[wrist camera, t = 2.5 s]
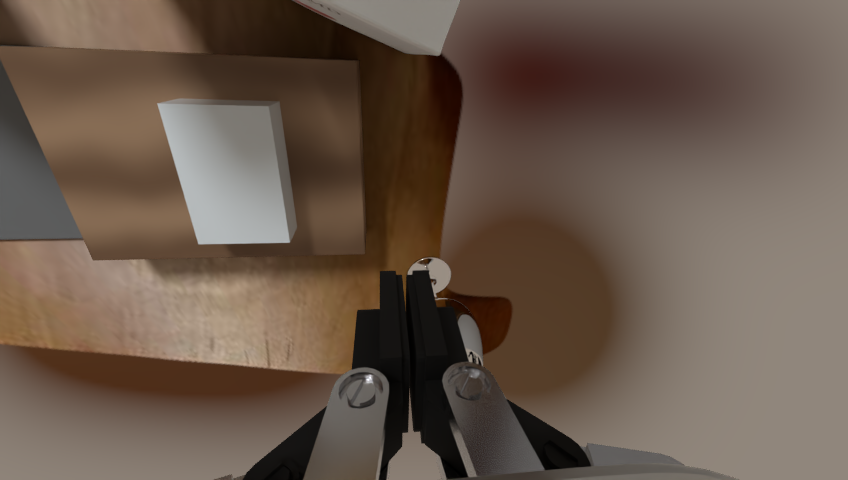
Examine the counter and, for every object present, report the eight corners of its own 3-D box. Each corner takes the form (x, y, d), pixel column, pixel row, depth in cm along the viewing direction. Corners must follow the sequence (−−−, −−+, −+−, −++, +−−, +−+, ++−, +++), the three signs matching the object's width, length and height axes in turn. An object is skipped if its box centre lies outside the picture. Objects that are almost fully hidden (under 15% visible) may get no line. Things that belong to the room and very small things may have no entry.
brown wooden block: (52, 47, 23) (-6, 46, 20) (359, 60, 26) (356, 61, 22) (126, 235, 30) (93, 260, 26) (366, 232, 32) (364, 254, 29)
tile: (179, 98, 22) (157, 103, 20) (279, 101, 23) (268, 106, 20) (213, 228, 26) (198, 244, 24) (297, 227, 27) (289, 242, 25)
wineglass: (390, 266, 34) (395, 361, 24) (443, 241, 34) (473, 327, 23) (415, 307, 37) (430, 409, 26) (465, 285, 36) (501, 380, 26)
